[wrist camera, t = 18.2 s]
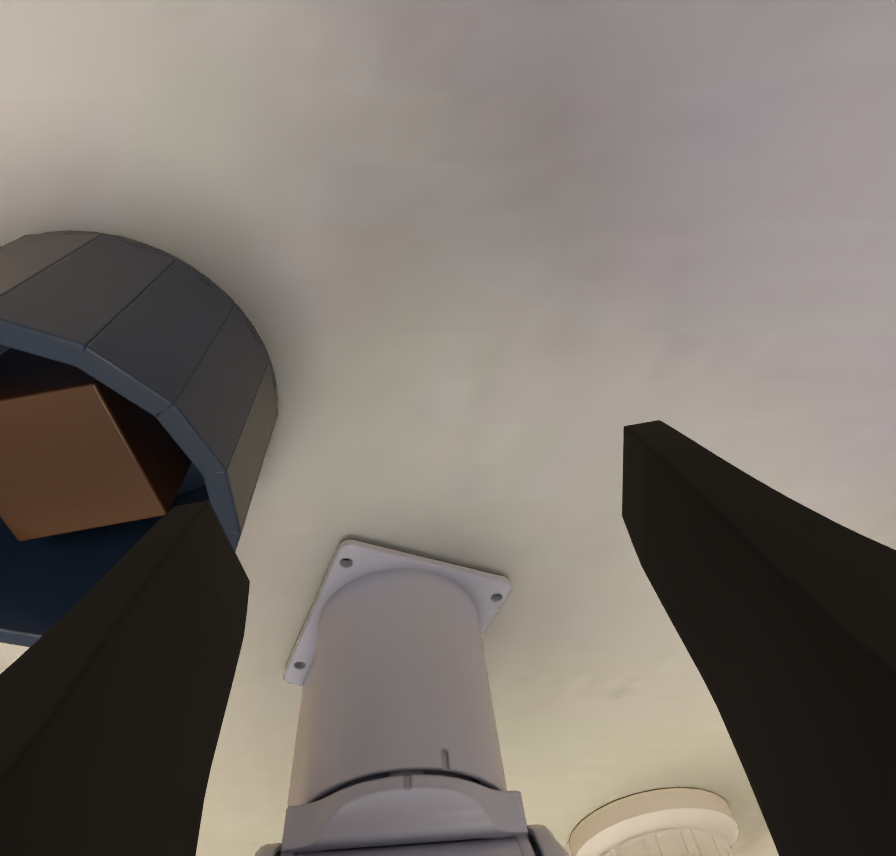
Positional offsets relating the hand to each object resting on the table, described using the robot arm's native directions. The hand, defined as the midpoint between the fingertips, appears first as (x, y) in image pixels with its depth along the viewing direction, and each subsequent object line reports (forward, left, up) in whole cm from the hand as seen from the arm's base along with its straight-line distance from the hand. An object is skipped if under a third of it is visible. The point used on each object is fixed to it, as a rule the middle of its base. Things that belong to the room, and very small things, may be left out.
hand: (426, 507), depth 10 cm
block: (-6, +8, -10) cm, 14 cm away
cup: (-6, +8, -10) cm, 14 cm away
